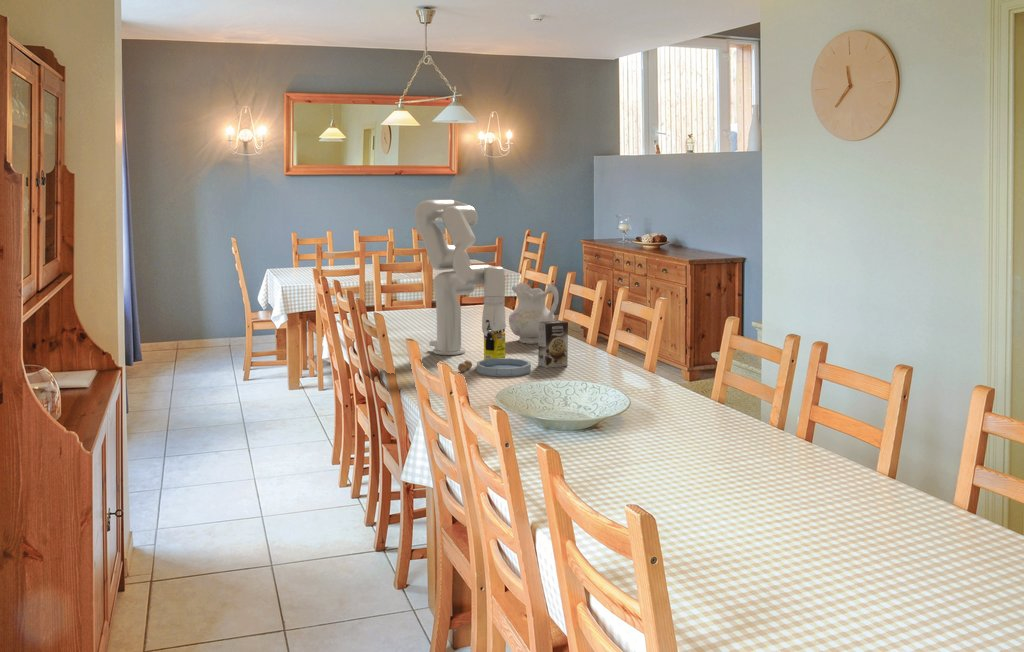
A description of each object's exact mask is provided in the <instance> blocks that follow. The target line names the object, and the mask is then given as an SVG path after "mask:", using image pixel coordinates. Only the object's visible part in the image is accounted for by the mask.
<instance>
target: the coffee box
mask: <svg viewBox="0 0 1024 652" xmlns="http://www.w3.org/2000/svg"><path fill="white" fill-rule="evenodd" d="M537 348H538V351H537V352H538V353H537V354H538V355H537V356H538V360H537V363H538V365H537V366H541V367H543V368H545V369H549V368H550V369H551V368H557V367H561V368H562V367H567V366H568V359H569V358H568V357H569V356H568V354H569V352H568V351H569V349H568V348H569V322H568V321H565V320H559V319H558V320H555V321H543V322H539V343H538V347H537Z"/></svg>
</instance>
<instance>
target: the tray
mask: <svg viewBox="0 0 1024 652" xmlns="http://www.w3.org/2000/svg"><path fill="white" fill-rule="evenodd" d="M531 365H532V363H531V361H529V360H526V359H522V358H521V359H520V358H514V357H513V358H511V357H505V358H494V359H486V360H484V359H481V360H480V361H479V360H478V361H477V362H476V373H478V374H479V375H482V376H488V377H495V378H496V377H497V378H505V377H507V378H509V377H519V376H526V375H528V374H530V373H531V370H532V369H531V367H532V366H531Z"/></svg>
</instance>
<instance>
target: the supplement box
mask: <svg viewBox="0 0 1024 652" xmlns="http://www.w3.org/2000/svg"><path fill="white" fill-rule="evenodd" d="M489 334H490V335H491V333H489ZM493 340H494V350H493V351H490V350H486V339H485V336H484V335H483V360H486V359H494V358H506V332H505V331H504V332H499V331H498V332H494V336H493Z"/></svg>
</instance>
